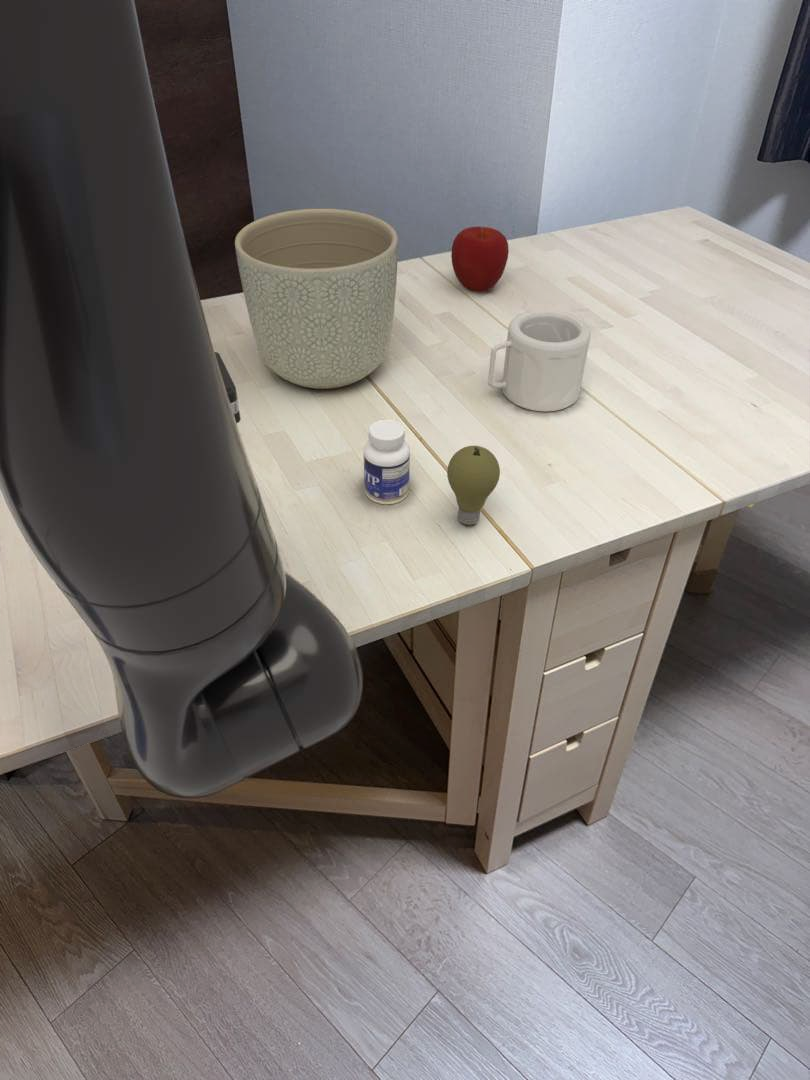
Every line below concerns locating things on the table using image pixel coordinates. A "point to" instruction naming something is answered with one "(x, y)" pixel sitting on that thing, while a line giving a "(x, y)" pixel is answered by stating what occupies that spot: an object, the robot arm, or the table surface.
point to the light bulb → (472, 480)
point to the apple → (479, 257)
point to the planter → (319, 293)
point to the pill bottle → (386, 462)
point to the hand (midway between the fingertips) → (107, 357)
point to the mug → (543, 360)
